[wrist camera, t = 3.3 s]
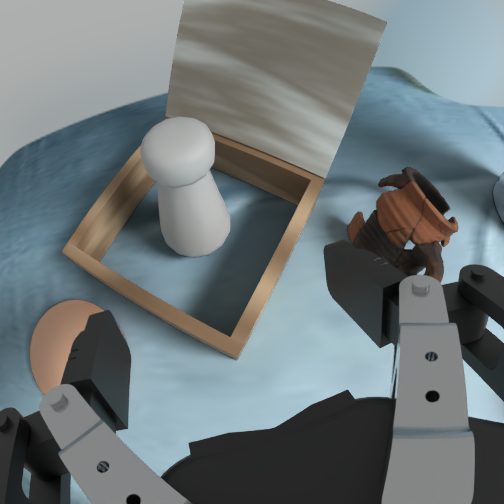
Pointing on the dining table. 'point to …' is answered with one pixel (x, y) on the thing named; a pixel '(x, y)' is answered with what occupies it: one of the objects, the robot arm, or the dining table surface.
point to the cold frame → (248, 125)
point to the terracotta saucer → (57, 340)
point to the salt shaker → (186, 186)
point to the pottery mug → (406, 225)
